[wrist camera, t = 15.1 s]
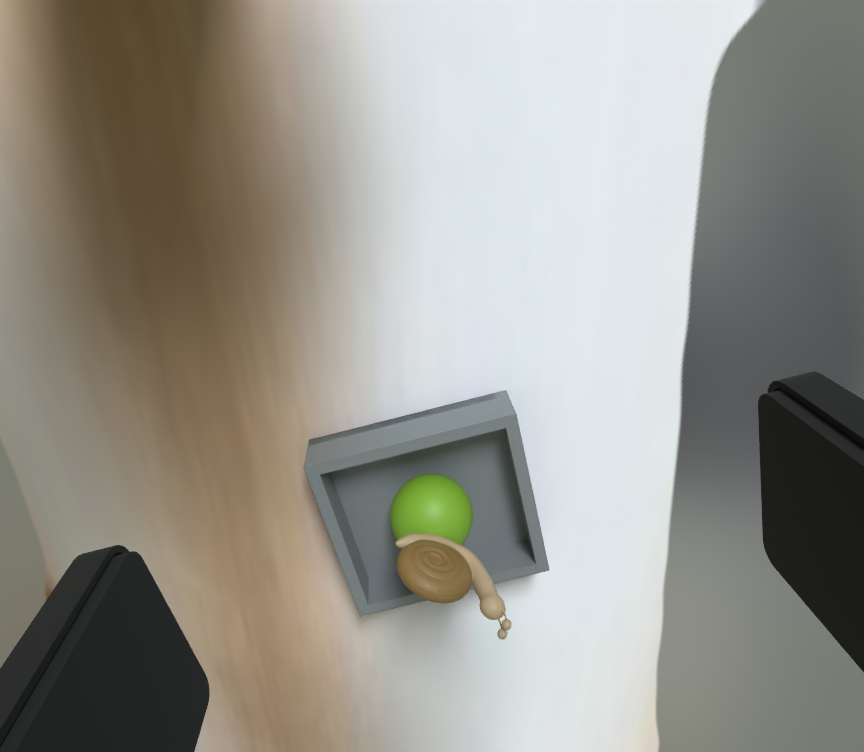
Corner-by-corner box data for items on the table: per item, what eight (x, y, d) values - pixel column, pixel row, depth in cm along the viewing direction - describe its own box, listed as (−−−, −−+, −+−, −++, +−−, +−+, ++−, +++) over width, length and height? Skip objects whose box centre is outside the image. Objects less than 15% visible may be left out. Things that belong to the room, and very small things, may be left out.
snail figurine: (466, 534, 46) (493, 670, 35) (380, 515, 44) (379, 650, 33) (491, 471, 44) (528, 595, 33) (402, 450, 42) (409, 570, 31)
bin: (309, 439, 43) (303, 467, 39) (506, 390, 42) (516, 413, 39) (361, 581, 48) (360, 616, 44) (538, 538, 47) (549, 570, 44)
